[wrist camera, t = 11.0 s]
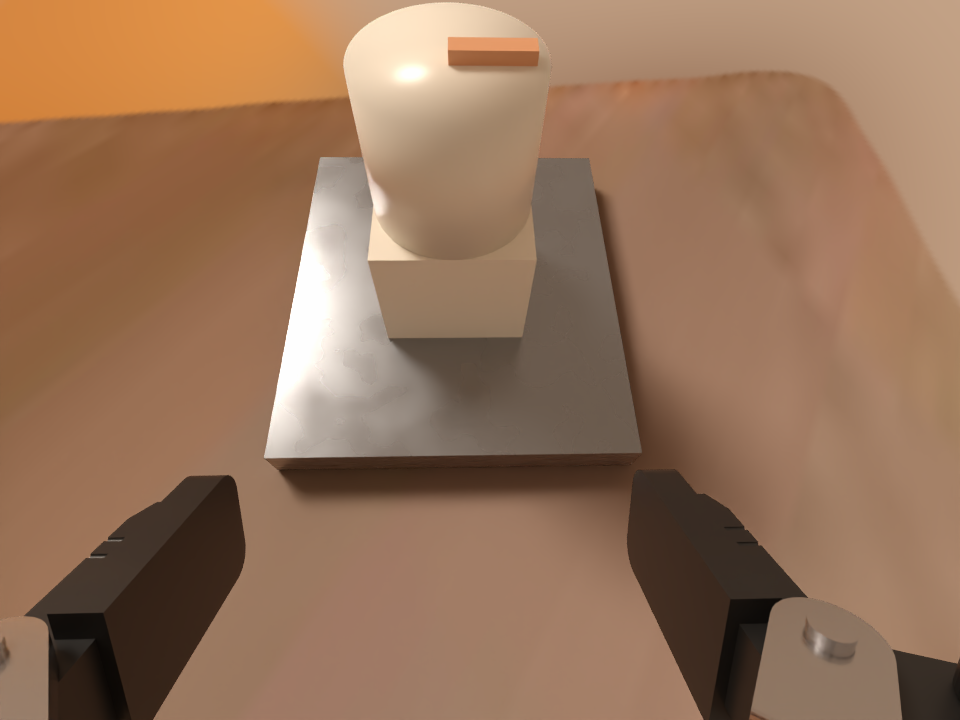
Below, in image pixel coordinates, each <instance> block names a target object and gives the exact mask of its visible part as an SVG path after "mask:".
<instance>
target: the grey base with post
mask: <svg viewBox="0 0 960 720" xmlns="http://www.w3.org/2000/svg"><path fill="white" fill-rule="evenodd" d="M531 206H532V216H533V226H534V237H535V247H536V257H537V261H536V267H535V272H534V277H533V283H532V288H531V293H530V299H529V304H528V309H527V315H526V320H525V325H524V330H523V336H522V337H488V338H388V335H387V331H386V328H385V324H384V320H383V316H382V313H381V309H380V305H379V302H378V298H377V294H376V290H375V287H374V283H373V279H372V275H371V272H370V268H369V264H368V251H369V242H370V232H371V223H372V213H373V201H372V197H371V192H370V188H369V183H368V179H367V174H366V169H365V165H364V160H363V157H320V161H319V167H318V172H317V177H316V183H315V188H314V194H313V199H312V204H311V210H310V215H309V220H308V226H307V231H306V236H305V242H304V247H303V252H302V258H301V263H300V269H299V274H298V279H297V285H296V290H295V295H294V301H293V306H292V311H291V317H290V322H289V327H288V333H287V338H286V344H285V349H284V354H283V360H282V365H281V370H280V376H279V381H278V386H277V392H276V397H275V403H274V408H273V413H272V419H271V424H270V429H269V435H268V440H267V445H266V451H265V456H264V459H266V460H267V461H268V462H269V463H270V464H271V465H273V466H274V467H275V468H276V469H277V470H296V469H363V468H431V467H499V466H567V465H631V464H632V463H633V462H634V461H635V460H636V459H637V458H638V457H639V456H640V455H641V453H642V450H641V444H640V439H639V433H638V427H637V422H636V416H635V411H634V405H633V400H632V394H631V389H630V383H629V378H628V372H627V366H626V361H625V355H624V350H623V344H622V339H621V333H620V328H619V322H618V317H617V311H616V305H615V300H614V294H613V289H612V283H611V278H610V272H609V267H608V261H607V256H606V250H605V244H604V239H603V233H602V228H601V222H600V217H599V211H598V206H597V200H596V195H595V189H594V183H593V178H592V172H591V167H590V161H589V158H538V162H537V169H536V176H535V182H534V189H533V196H532V202H531Z"/></svg>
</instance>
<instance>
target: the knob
mask: <svg viewBox="0 0 960 720" xmlns="http://www.w3.org/2000/svg"><path fill="white" fill-rule="evenodd" d="M343 67H344V73H345V78H346V83H347V87H348V92H349V96H350V101H351V105H352V110H353V115H354V119H355V124H356V128H357V133H358V137H359V142H360V147H361V151H362V156H363V160H364V165H365V169H366V174H367V179H368V183H369V188H370V192H371V197H372V201H373V213H372V223H371V232H370V242H369V251H368V264H369V268H370V272H371V275H372V279H373V283H374V287H375V290H376V294H377V298H378V302H379V305H380V309H381V313H382V316H383V320H384V324H385V328H386V331H387V335H388V338H488V337H522V336H523V330H524V325H525V320H526V315H527V309H528V304H529V299H530V293H531V288H532V283H533V277H534V272H535V267H536V261H537V257H536V247H535V237H534V226H533V216H532V206H531V202H532V196H533V189H534V182H535V176H536V169H537V162H538V156H539V149H540V142H541V136H542V129H543V123H544V116H545V109H546V103H547V96H548V89H549V83H550V75H551V69H552V62H551V56H550V53H549V50H548V48H547V46H546V44H545V43H544V41H543V40H542V38H541V37H540V36H539V35H538V34H537V33H536V32H535V31H534V30H533V29H532V28H530V27H529V26H527V25H526V24H525V23H523V22H522V21H520V20H518V19H517V18H514V17H512V16H510V15H508V14H506V13H503V12H500V11H498V10H494V9H491V8H488V7H483V6H478V5H472V4H465V3H450V2H448V3H429V4H421V5H415V6H411V7H406V8H403V9H399V10H396V11H393V12H390V13H388V14H386V15H383V16H381V17H379V18H377V19H376V20H374V21H372V22H371V23H369V24H368V25H367V26H365V27H364V28H362V29H361V30H360V31H359V32H358V33H357V34H356V35H355V36H354V38H353V39H352V41H351V42H350V43H349V46H348V47H347V49H346V53H345V56H344V65H343Z"/></svg>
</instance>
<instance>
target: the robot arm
mask: <svg viewBox="0 0 960 720" xmlns="http://www.w3.org/2000/svg"><path fill="white" fill-rule="evenodd" d="M627 547H628V555H629V560H630V564H631V567H632V569H633V572H634V574H635V576H636V578H637V580H638V582H639V584H640V586H641V589H642V591H643V593H644V595H645V597H646V599H647V601H648V603H649V605H650V608H651V610H652V612H653V614H654V616H655V618H656V620H657V622H658V624H659V627H660V629H661V631H662V633H663V635H664V637H665V639H666V641H667V643H668V645H669V648H670V650H671V652H672V654H673V656H674V658H675V660H676V662H677V664H678V667H679V669H680V671H681V673H682V675H683V677H684V679H685V681H686V683H687V685H688V688H689V690H690V692H691V694H692V696H693V698H694V700H695V702H696V704H697V707H698V709H699V711H700V713H701V715H702V717H703V719H704V720H960V659H959V662H958V664H956V663H951V662H947V661H942V660H938V659H933V658H928V657H924V656H919V655H915V654H910V653H906V652H901V651H897V650H893V649H891V647H890V645H889V644H888V643H887V641H886V640H885V639H884V638H883V637H882V636H881V635H880V633H879V632H877V631H876V630H875V629H874V628H873V627H872V626H871V625H869V624H868V623H866V622H865V621H864V620H862V619H861V618H859V617H857V616H856V615H854V614H852V613H851V612H849V611H847V610H845V609H843V608H840V607H838V606H836V605H833V604H830V603H827V602H824V601H821V600H816V599H812V598H808V597H807V596H806V595H805V594H804V593H803V592H802V591H801V590H800V588H799V587H798V586H797V585H796V584H795V583H794V582H793V581H792V579H791V578H790V577H789V576H788V575H787V574H786V573H785V572H784V570H783V569H782V568H781V567H780V566H779V565H778V564H777V563H776V561H775V560H774V559H773V558H772V557H771V556H770V555H769V554H768V553H767V551H766V550H765V549H764V548H763V547H762V546H759V545H758V541H757V540H756V539H755V538H754V537H753V536H752V535H751V533H750V532H749V531H748V530H745V529H744V526H743V524H742V523H741V522H740V521H739V520H738V519H737V518H736V517H735V515H734V514H733V513H732V512H731V511H730V510H729V509H728V508H727V507H725V506H723V505H722V504H720V503H719V502H717V501H715V500H714V499H712V498H711V497H709V496H707V495H706V494H696V493H695V491H694V490H693V489H692V488H691V487H690V485H689V484H688V483H687V482H686V481H685V479H684V478H683V477H682V476H681V475H680V473H679V472H678V471H676V470H637V471H636V473H635V475H634V478H633V485H632V494H631V504H630V514H629V524H628V534H627ZM244 559H245V538H244V531H243V525H242V518H241V512H240V505H239V499H238V492H237V486H236V483H235V480H234V479H233V478H232V477H231V476H229V475H220V476H189V477H187V478H185V479H184V480H183V481H182V482H181V483H180V484H179V485H178V486H177V487H176V488H175V489H174V490H173V491H172V492H171V493H170V494H169V495H168V496H167V497H166V498H165V499H164V500H163V501H162V502H156V503H155V504H153V505H151V506H149V507H148V508H146V509H144V510H143V511H141V512H139V513H137V514H136V515H134V516H132V517H130V518H129V519H127V520H126V521H125V522H124V523H123V524H122V525H121V526H120V527H119V528H118V529H117V530H116V531H115V532H114V533H112V534H111V535H110V536H109V537H108V541H104V542H103V543H102V544H101V545H100V546H99V547H97V548H96V549H95V550H94V551H93V552H92V553H91V556H90V558H86V559H85V560H84V561H82V562H81V563H80V564H79V565H78V566H77V567H76V568H75V569H74V570H73V571H72V572H71V573H70V574H68V575H67V576H66V577H65V578H64V579H63V580H62V581H61V582H60V583H59V584H58V585H57V586H56V587H55V588H53V589H52V590H51V591H50V592H49V593H48V594H47V595H46V596H45V597H44V598H43V599H42V600H41V601H40V602H38V603H37V604H36V605H35V606H34V607H33V608H32V609H31V610H30V611H29V612H28V613H27V614H26V615H24V616H20V617H11V618H5V619H1V620H0V720H153V718H154V717H155V715H156V713H157V712H158V710H159V708H160V707H161V705H162V704H163V702H164V700H165V699H166V697H167V695H168V694H169V692H170V690H171V689H172V687H173V685H174V684H175V682H176V680H177V679H178V677H179V675H180V674H181V672H182V670H183V669H184V667H185V665H186V664H187V662H188V660H189V659H190V657H191V655H192V654H193V652H194V650H195V649H196V647H197V645H198V644H199V642H200V641H201V639H202V637H203V636H204V634H205V632H206V631H207V629H208V627H209V626H210V624H211V622H212V621H213V619H214V617H215V616H216V614H217V612H218V611H219V609H220V607H221V606H222V604H223V602H224V601H225V599H226V597H227V596H228V594H229V592H230V591H231V589H232V587H233V586H234V584H235V583H236V581H237V579H238V577H239V576H240V573H241V571H242V568H243V564H244Z"/></svg>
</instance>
